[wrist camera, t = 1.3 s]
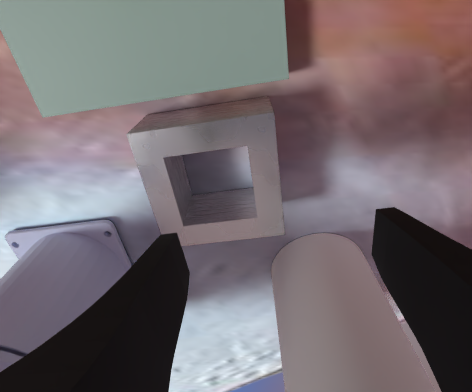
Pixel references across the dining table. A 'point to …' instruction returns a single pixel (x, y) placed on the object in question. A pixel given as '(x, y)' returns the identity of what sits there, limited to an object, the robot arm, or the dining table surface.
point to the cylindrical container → (339, 322)
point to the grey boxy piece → (202, 140)
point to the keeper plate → (141, 48)
